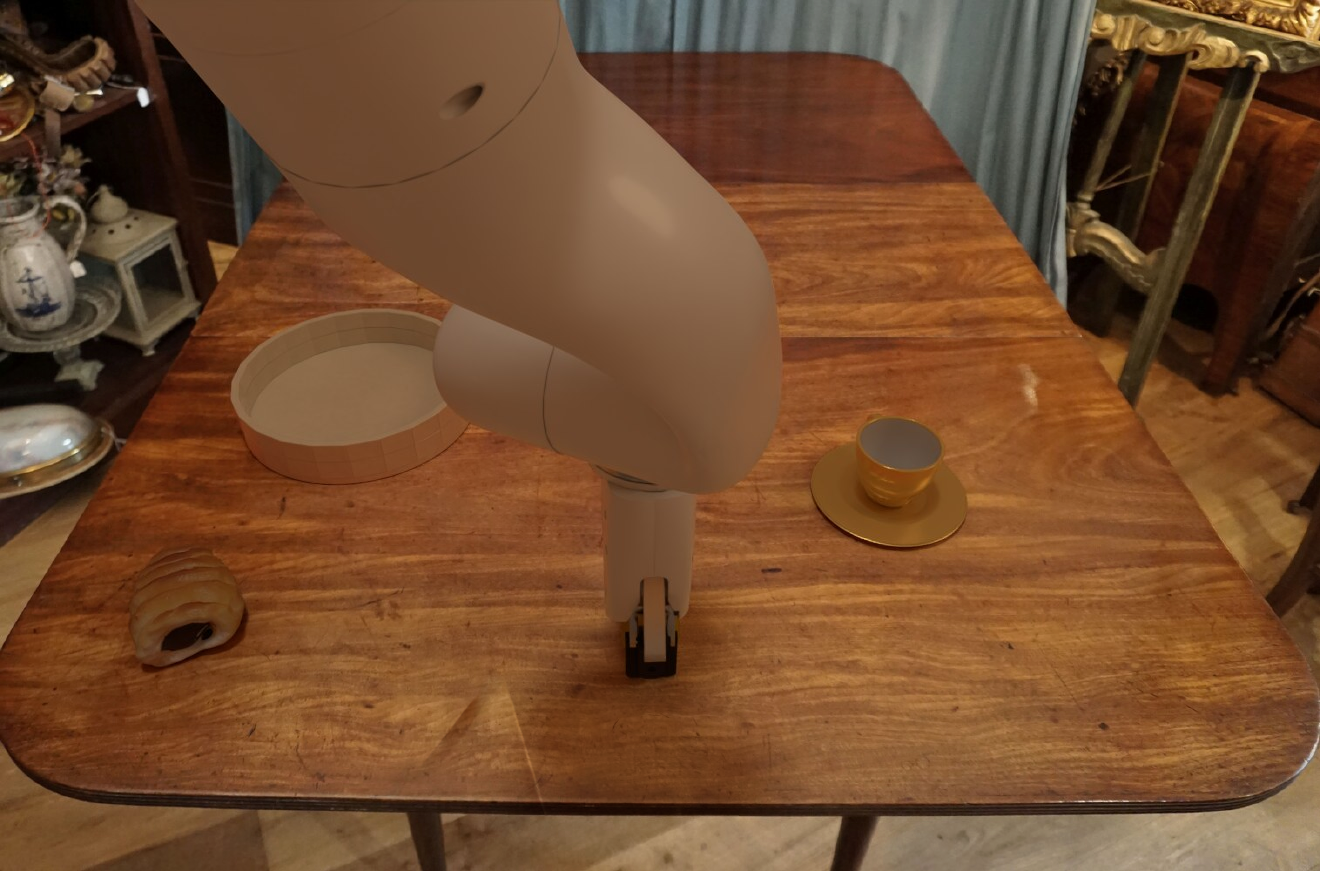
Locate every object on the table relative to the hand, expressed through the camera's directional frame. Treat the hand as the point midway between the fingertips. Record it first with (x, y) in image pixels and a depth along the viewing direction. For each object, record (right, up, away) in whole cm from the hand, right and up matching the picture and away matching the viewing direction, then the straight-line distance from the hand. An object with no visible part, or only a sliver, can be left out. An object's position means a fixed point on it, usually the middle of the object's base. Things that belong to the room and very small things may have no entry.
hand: (649, 634), depth 62 cm
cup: (+18, +8, +11) cm, 23 cm away
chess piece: (0, 0, 0) cm, 0 cm away
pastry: (-31, +1, +1) cm, 31 cm away
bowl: (-25, +15, +18) cm, 34 cm away
